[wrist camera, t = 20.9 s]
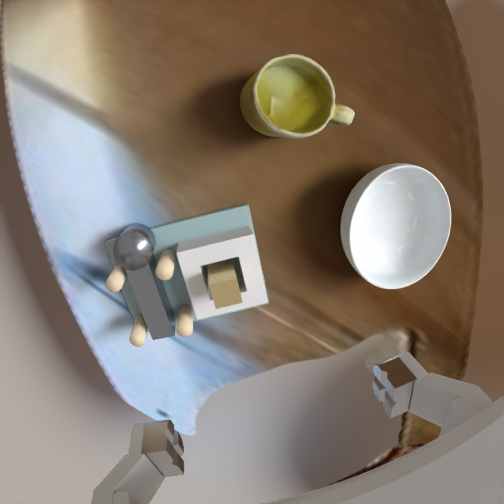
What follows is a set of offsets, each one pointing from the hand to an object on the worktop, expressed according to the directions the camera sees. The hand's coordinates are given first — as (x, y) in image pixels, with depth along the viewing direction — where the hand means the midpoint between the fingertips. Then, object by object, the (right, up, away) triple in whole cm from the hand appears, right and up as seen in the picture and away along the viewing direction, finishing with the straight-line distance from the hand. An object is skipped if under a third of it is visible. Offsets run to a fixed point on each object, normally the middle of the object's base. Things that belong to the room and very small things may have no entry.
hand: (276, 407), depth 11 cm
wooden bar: (-5, +4, +30) cm, 31 cm away
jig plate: (-9, +3, +31) cm, 32 cm away
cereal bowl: (+18, +11, +33) cm, 39 cm away
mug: (+4, +24, +26) cm, 35 cm away
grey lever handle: (-14, +3, +29) cm, 32 cm away
